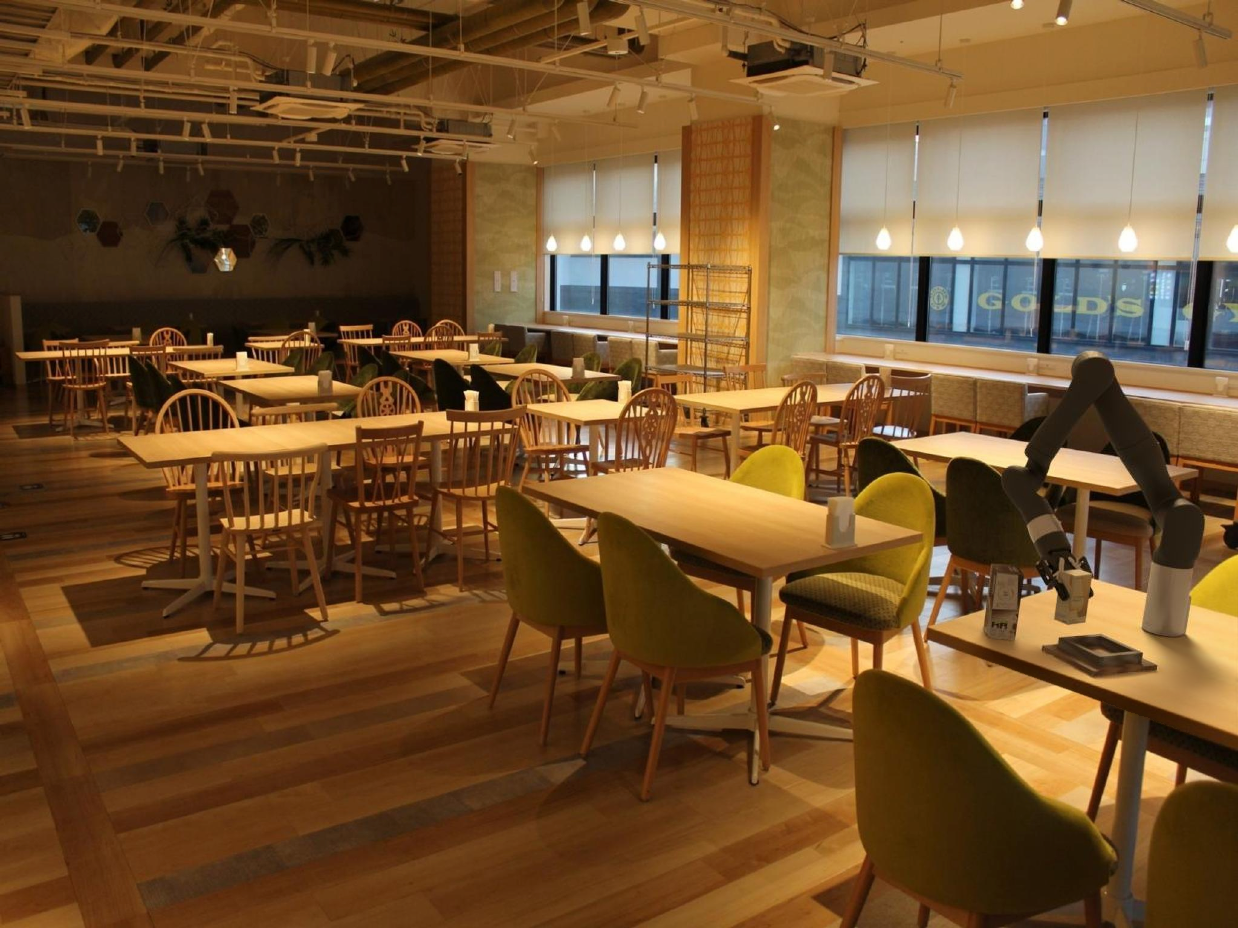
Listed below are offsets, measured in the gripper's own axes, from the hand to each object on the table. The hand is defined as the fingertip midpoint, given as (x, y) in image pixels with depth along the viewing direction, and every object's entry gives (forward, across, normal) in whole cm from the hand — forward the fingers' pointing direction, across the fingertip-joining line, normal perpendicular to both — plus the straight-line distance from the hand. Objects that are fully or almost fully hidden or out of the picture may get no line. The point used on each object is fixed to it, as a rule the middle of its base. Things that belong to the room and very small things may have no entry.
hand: (1078, 598), depth 253 cm
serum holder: (+16, -3, -1) cm, 16 cm away
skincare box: (+3, 0, +6) cm, 7 cm away
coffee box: (+1, -14, +14) cm, 20 cm away
